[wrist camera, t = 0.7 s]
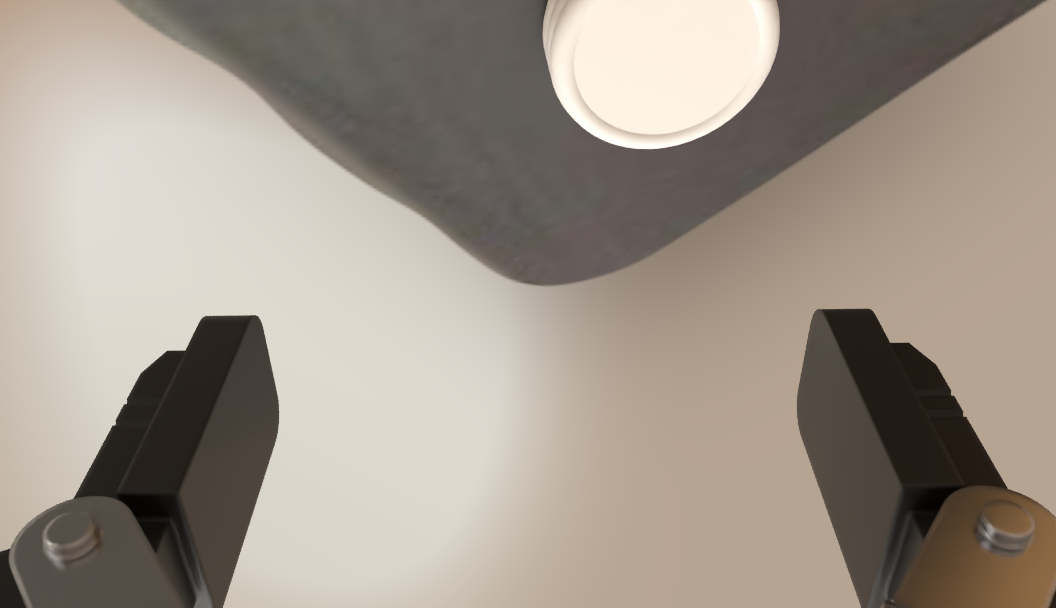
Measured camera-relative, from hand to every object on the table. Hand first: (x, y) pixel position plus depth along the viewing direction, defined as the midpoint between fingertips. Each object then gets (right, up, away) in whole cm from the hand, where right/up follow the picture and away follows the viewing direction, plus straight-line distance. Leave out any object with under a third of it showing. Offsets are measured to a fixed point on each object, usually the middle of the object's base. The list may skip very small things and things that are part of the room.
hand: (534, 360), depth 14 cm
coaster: (+5, +14, +29) cm, 33 cm away
